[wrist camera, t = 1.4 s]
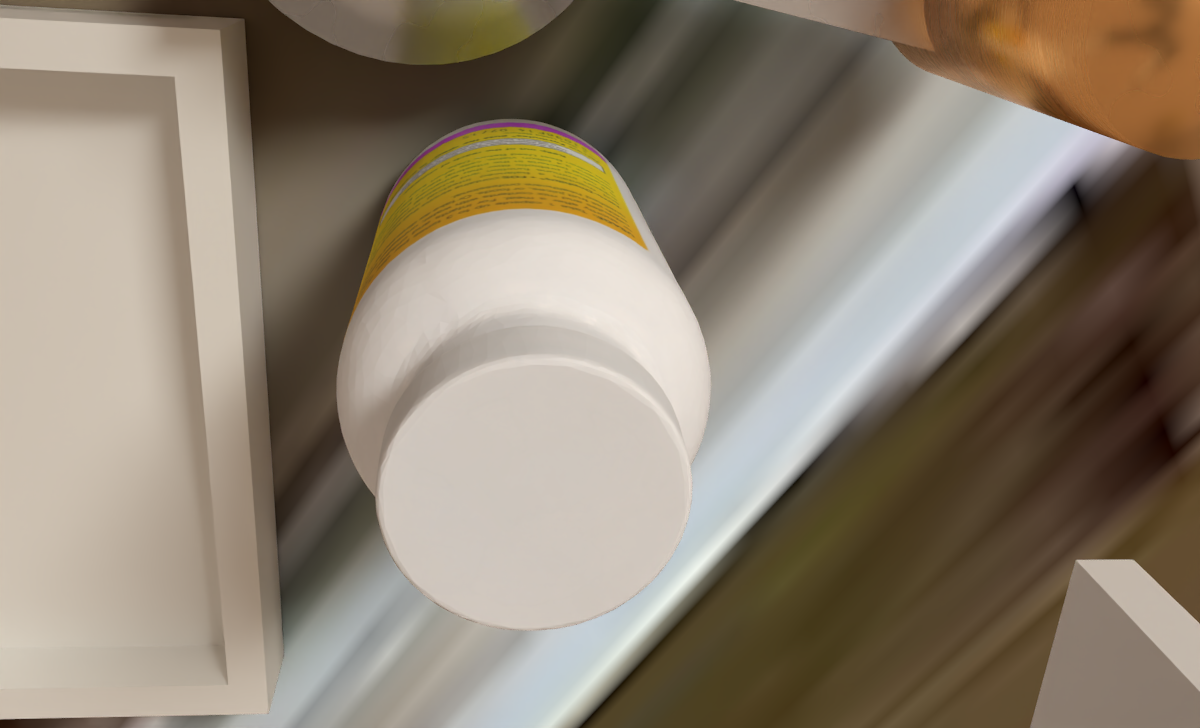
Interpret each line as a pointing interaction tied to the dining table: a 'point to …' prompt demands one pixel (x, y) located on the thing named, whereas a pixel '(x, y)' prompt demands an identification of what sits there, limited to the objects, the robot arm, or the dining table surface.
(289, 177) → the dining table surface
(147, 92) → the tray
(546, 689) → the dining table surface
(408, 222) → the supplement bottle
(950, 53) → the crank lever
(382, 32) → the crank base
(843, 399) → the dining table surface
